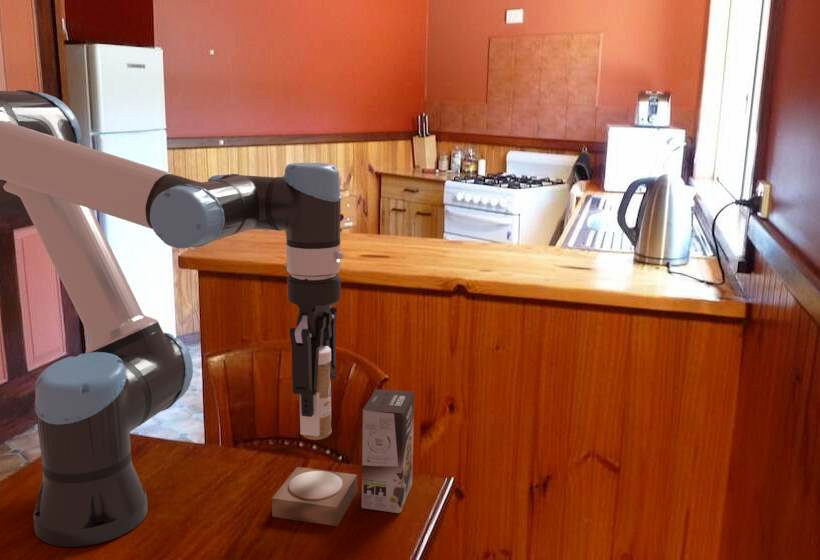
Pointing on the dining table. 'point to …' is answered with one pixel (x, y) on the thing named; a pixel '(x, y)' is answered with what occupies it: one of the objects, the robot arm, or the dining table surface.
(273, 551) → the dining table surface
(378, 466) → the coffee box
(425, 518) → the dining table surface
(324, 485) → the base
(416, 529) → the dining table surface
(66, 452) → the robot arm
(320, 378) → the sprinkles bottle
